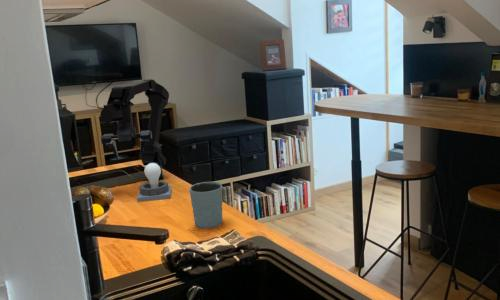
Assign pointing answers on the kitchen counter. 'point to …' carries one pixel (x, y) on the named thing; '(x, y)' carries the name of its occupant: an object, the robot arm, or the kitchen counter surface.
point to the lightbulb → (153, 174)
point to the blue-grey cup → (207, 204)
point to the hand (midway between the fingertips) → (129, 158)
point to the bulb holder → (154, 192)
